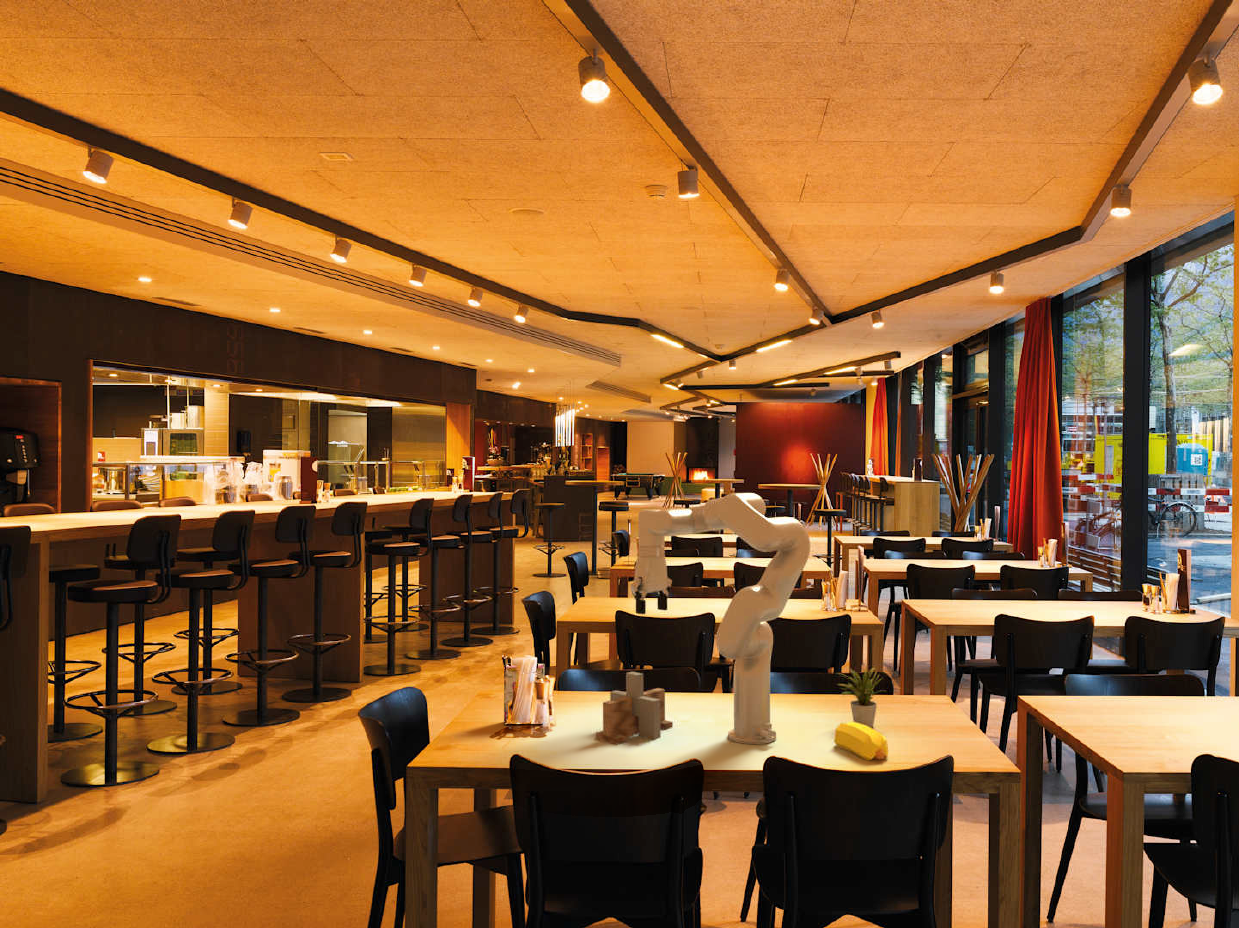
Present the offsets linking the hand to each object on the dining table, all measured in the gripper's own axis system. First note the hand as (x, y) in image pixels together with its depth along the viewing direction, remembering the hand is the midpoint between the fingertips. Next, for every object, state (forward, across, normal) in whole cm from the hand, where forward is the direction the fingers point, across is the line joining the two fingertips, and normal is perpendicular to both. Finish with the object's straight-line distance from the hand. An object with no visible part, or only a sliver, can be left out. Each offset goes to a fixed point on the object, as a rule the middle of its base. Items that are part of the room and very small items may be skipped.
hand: (651, 611), depth 273 cm
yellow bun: (+30, -8, +61) cm, 69 cm away
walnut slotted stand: (+30, +16, +7) cm, 35 cm away
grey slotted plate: (+30, +15, +7) cm, 35 cm away
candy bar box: (+31, +28, -23) cm, 48 cm away
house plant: (+30, -32, +50) cm, 66 cm away
